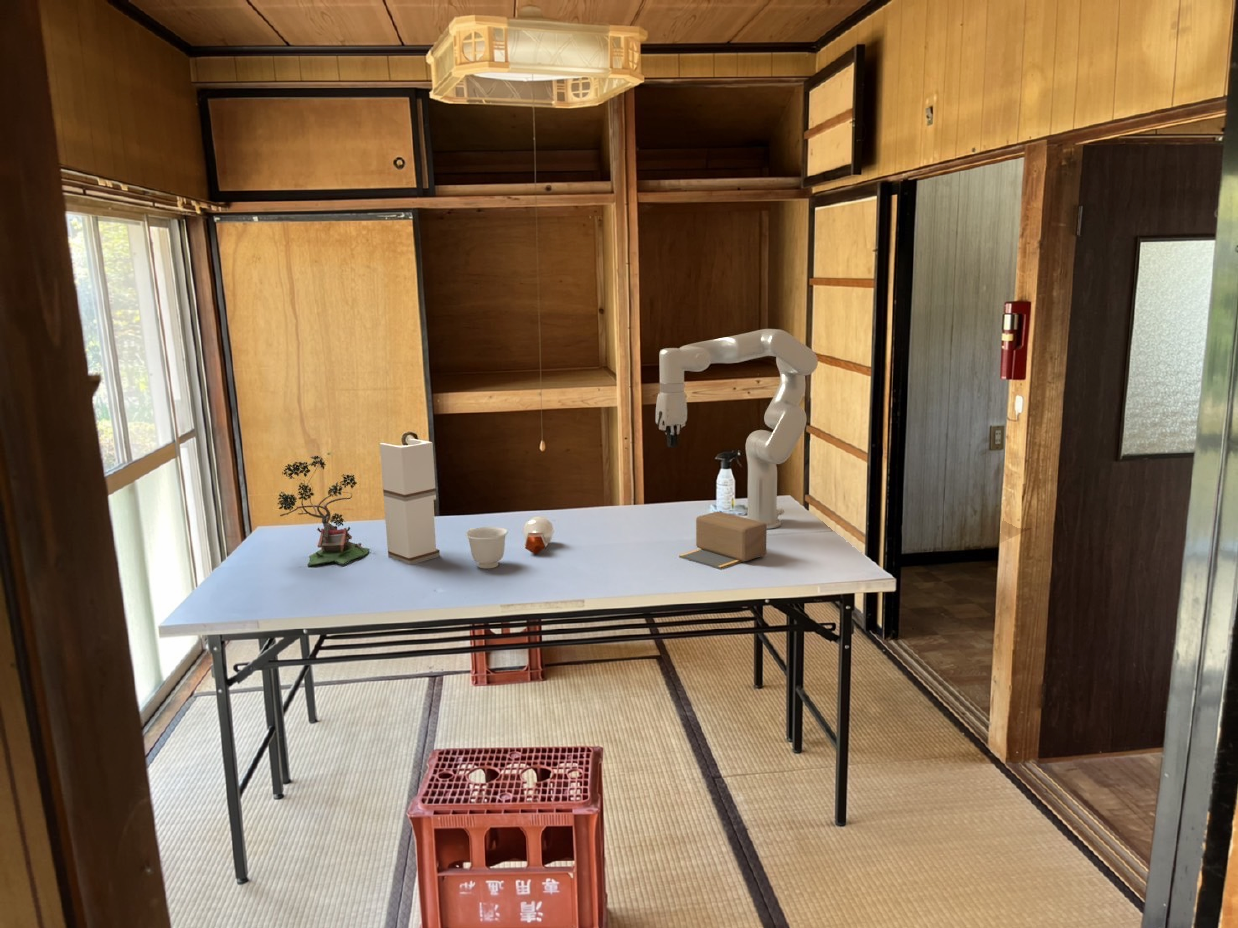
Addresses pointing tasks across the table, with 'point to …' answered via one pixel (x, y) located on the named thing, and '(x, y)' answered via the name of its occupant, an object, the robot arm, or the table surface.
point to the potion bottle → (537, 534)
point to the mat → (710, 558)
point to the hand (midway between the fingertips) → (672, 446)
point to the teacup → (487, 545)
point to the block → (731, 535)
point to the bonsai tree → (325, 520)
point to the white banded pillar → (409, 500)
